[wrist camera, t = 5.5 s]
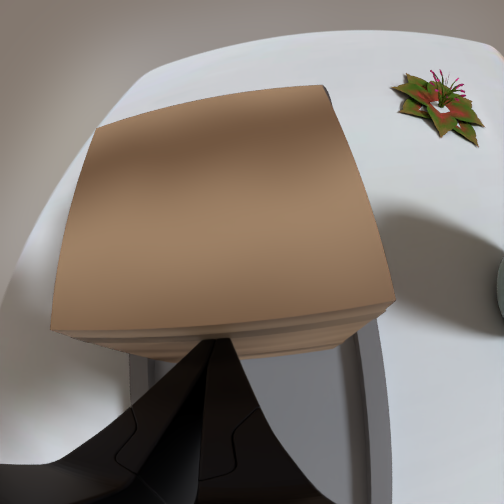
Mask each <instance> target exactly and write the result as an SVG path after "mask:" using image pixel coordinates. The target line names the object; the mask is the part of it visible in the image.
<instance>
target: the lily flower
mask: <svg viewBox="0 0 504 504" xmlns="http://www.w3.org/2000/svg"><path fill="white" fill-rule="evenodd" d="M430 72H432V73H433V77H434V79H435V81H436V82H434V81H430V82H429V83H428V82H426V81H425V80H423V79H421V78H418V77H415V76H410V75H409V74H407V73H406V75H407V77H408V78H407V79H408V82H409V83H406V84H402V85H399V86H398V87H392V88H395V89H397V90H399V91H402V92H404V93H407V94H408V95H410V96H411V97H412V98H408V99H407V100H406V101H405V103H404V105H403V110H401V111H400V112H402V113H408V114H413V115H417V116H421V117H425V118H429V119H432V120H433V122H434V124H435V126H436V128H437V129H438V131H439V134H440V137H441V138H442V136H443V135H445V134H446V133H447V131H450V130H452V129H454V130H455V131H457V132H459V133H460V134H462V135H463V136H465V137H466V138H467V139H469V140H470V141H472V142H474V144H476V145H477V146H478V144H477V139H476V138H475V137H476V133H475V130H474V129H473V127H472V126H471V125H470V124H469V122H472V123H477V124H479V125H481V126H483V127H484V125H483V124H482V122H481V121H480V119H479V118H477V115H476V113H475V112H474V111H473V110H472V109H471V108H472V104H471V103H472V101H471V100H468V99H466V98H463V97H465V96H466V95H458V94H454V93H453V92H456V91H461V92H464V93H465V91H463V90H456V89H457V88H459V87H460V86H463V85H464V84H459V85H458V86H455V87H454V88H453V89H452V90H451V88H452V86H453V84H454V83H455V82H456V81H457V80H458V79H456V80H455V82H454V83H453V84H452V85H451V87H450V88H448V87H447V85H446V86H445V85H443V82H444V80H443V76H442V83H441V82H440V80H439V79H438V78H437V76H436V75H435V73H434V72H433V71H431V70H430ZM440 73H441V75H443V74H442V72H441V70H440ZM435 76H436V77H435ZM436 78H437V80H436ZM448 78H449V76H448ZM437 81H438V82H437ZM447 83H448V81H447ZM445 84H446V83H445ZM433 101H439V104H438V105H439V107H441V108H443V107H444V106H446V107H447V108H448V109H449V110H450V112H447V113H440V112H439V111H438V110H437V109H435V108H434V107H433V106H432V105H431V103H430V102H433ZM423 104H424V105H426V106H427V111H428V112H425V111H421V110H419V109H420V108H421V107H422V105H423ZM455 118H457V120H458V122H459V125H460V127H461V128H460V127H458V126H457V120H456V119H455ZM478 147H479V146H478Z"/></svg>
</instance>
